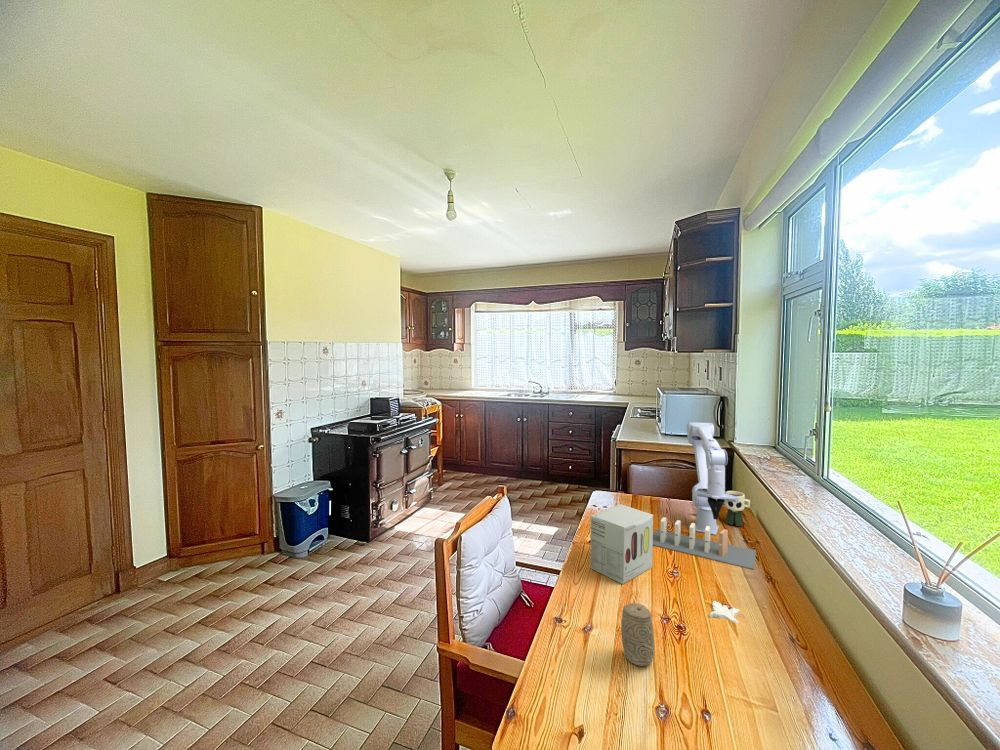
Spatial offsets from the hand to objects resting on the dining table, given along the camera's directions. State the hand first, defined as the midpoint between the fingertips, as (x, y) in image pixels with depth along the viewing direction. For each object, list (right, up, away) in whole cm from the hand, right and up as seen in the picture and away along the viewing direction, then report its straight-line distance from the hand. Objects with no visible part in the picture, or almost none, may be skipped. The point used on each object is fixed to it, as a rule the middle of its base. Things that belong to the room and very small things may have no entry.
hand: (715, 518), depth 153 cm
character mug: (+17, -9, +18) cm, 27 cm away
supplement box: (-40, -11, -16) cm, 44 cm away
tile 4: (-6, -10, -5) cm, 12 cm away
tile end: (-1, -10, -8) cm, 12 cm away
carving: (-48, -13, -57) cm, 76 cm away
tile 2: (-14, -10, +1) cm, 17 cm away
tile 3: (-10, -10, -2) cm, 14 cm away
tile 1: (-18, -9, +4) cm, 21 cm away
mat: (-7, -10, -2) cm, 12 cm away
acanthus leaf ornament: (-19, -13, -41) cm, 46 cm away
